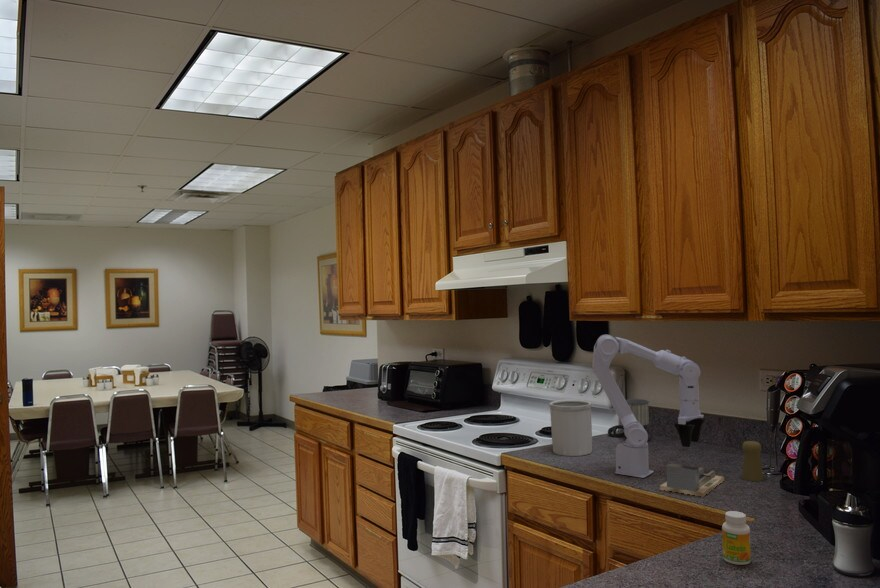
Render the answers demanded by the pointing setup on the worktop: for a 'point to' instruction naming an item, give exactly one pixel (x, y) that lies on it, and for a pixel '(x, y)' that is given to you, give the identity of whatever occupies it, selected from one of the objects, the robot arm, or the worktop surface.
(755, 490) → the worktop surface
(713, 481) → the gauge board
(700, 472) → the gauge carriage
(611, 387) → the robot arm
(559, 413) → the utensil holder
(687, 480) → the grey box
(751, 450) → the cork
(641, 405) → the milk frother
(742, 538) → the supplement bottle
